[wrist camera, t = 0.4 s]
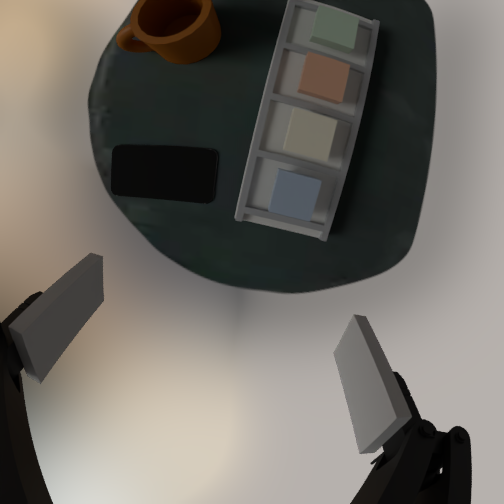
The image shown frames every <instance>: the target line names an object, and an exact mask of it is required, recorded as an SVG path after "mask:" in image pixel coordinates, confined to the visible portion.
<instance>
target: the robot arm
mask: <svg viewBox="0 0 504 504" xmlns="http://www.w3.org/2000/svg"><path fill="white" fill-rule="evenodd" d="M103 301H104V293H103V256H100V255H96V254H93V253H90V254H89V255H87V256H86V257H85V258H84V259H82V260H81V261H80V262H79V263H78V264H76V265H75V266H74V267H73V268H71V269H70V270H69V271H68V272H67V273H66V274H64V275H63V276H62V277H61V278H60V279H59V280H57V281H56V282H55V283H54V284H53V285H52V286H51V287H49V288H48V289H47V290H46V291H45V292H44V293H42V292H40V291H39V292H37V293H35V294H33V295H31V296H29V298H27V299H26V300H25V301H24V303H22V304H21V305H19V307H18V308H16V309H15V310H14V311H13V312H12V313H11V314H10V315H9V316H8V317H7V318H6V319H5V320H4V321H3V322H2V323H0V504H53V502H52V500H51V497H50V495H49V492H48V489H47V487H46V484H45V481H44V478H43V475H42V472H41V469H40V466H39V463H38V460H37V456H36V452H35V449H34V445H33V441H32V437H31V432H30V428H29V423H28V417H27V412H26V406H25V400H24V392H23V384H22V377H21V373H20V371H21V370H22V369H23V367H24V369H25V371H26V374H27V376H28V377H30V378H31V379H33V380H35V381H37V382H38V383H40V384H41V382H42V381H43V380H44V378H45V377H46V375H47V374H48V373H49V371H50V370H51V368H52V367H53V365H54V364H55V363H56V361H57V360H58V359H59V357H60V356H61V355H62V353H63V352H64V351H65V349H66V348H67V346H68V345H69V344H70V343H71V341H72V340H73V339H74V337H75V336H76V335H77V333H78V332H79V331H80V330H81V328H82V327H83V326H84V325H85V323H86V322H87V321H88V319H89V318H90V317H91V316H92V315H93V313H94V312H95V311H96V310H97V308H98V307H99V306H100V305H101V304H102V302H103ZM334 356H335V360H336V363H337V367H338V370H339V374H340V378H341V382H342V385H343V389H344V393H345V397H346V400H347V404H348V408H349V412H350V416H351V420H352V424H353V428H354V432H355V437H356V441H357V445H358V449H359V453H360V454H364V453H374V452H376V451H377V450H378V449H379V448H380V447H381V446H383V450H384V452H383V453H382V454H381V455H379V456H378V457H377V458H376V459H374V460H373V461H372V462H371V464H374V463H375V462H376V461H377V462H376V464H375V465H374V467H373V469H372V471H371V472H370V474H369V475H368V477H367V479H366V481H365V482H364V484H363V485H362V487H361V488H360V490H359V492H358V493H357V494H356V496H355V497H354V499H353V500H352V502H351V503H350V504H471V487H472V486H471V485H472V466H471V465H472V463H471V443H470V437H469V434H468V432H467V431H466V430H465V429H464V428H462V427H460V426H455V427H453V428H452V429H451V430H450V431H449V432H448V433H446V432H441V431H437V430H436V428H435V426H434V425H433V424H432V423H431V422H429V421H427V420H425V419H423V420H422V419H421V416H420V414H419V412H418V409H417V407H416V405H415V403H414V401H413V398H412V396H410V395H411V394H410V392H409V390H408V389H407V388H408V387H407V385H406V383H405V381H404V379H403V378H402V377H401V376H400V375H399V373H398V372H393V371H392V369H391V367H390V365H389V363H388V361H387V358H386V356H385V354H384V352H383V350H382V348H381V346H380V344H379V342H378V340H377V338H376V336H375V334H374V332H373V330H372V328H371V326H370V324H369V322H368V320H367V318H366V316H360V315H353V317H352V319H351V321H350V323H349V325H348V327H347V329H346V331H345V332H344V335H343V336H342V339H341V340H340V342H339V344H338V346H337V348H336V350H335V351H334ZM441 468H442V473H441V474H440V469H441Z"/></svg>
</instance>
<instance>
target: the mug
mask: <svg viewBox="0 0 504 504" xmlns="http://www.w3.org/2000/svg"><path fill="white" fill-rule="evenodd" d="M130 21H131V24H129V25H127V26H125V27H124V28H123V29H121V30H120V31H119V33H118V35H117V38H116V42H117V44H118V46H119V47H120V48H122V49H123V50H126V51H130V52H150V51H156V52H157V53H158V54H159V55H161V56H162V57H163V58H164V59H166V60H167V61H169V62H172V63H175V64H190V63H194V62H197V61H199V60H201V59H203V58H205V57H207V56H208V55H209V54H210V53H211V52H213V51H214V50H215V48H216V47H217V45H218V43H219V42H220V38H221V34H222V33H221V26H220V23H219V20H218V17H217V14H216V11H215V9H214V6H213V3H212V0H139V2H138V3H137V5H136V6H135V7H134V9H133V12H132V15H131V18H130ZM135 36H136V37H137V38H139V39H140V40H141V41H137V40H133V39H132V38H133V37H135Z"/></svg>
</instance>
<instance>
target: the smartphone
mask: <svg viewBox="0 0 504 504" xmlns="http://www.w3.org/2000/svg"><path fill="white" fill-rule="evenodd" d="M217 159H218V155H217V153H216V151H215V150H213V149H208V148H195V147H180V146H159V145H117V146H115V147H114V149H113V151H112V166H111V191H112V193H113V194H114V195H116V196H128V197H141V198H153V199H164V200H174V201H184V202H194V203H203V204H207V203H209V202H211V201H212V199H213V197H214V188H215V177H216V168H217Z"/></svg>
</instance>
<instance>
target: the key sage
mask: <svg viewBox="0 0 504 504" xmlns="http://www.w3.org/2000/svg"><path fill="white" fill-rule="evenodd" d="M358 23H359V18H357V17H354V16H352V15H349V14H346V13H343V12H340V11H337V10H334V9H331V8H328V7H325V6H321V5H319V7H318V9H317V11H316V15H315V19H314V23H313V28H312V32H311V36H310V40H309V41H310V42H313V43H317V44H320V45H323V46H327V47H330V48H333V49H336V50H339V51H342V52H345V53H347V54H349V53H350V52H351V51H352V50H353V49H354V45H355V39H356V34H357V29H358Z"/></svg>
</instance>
